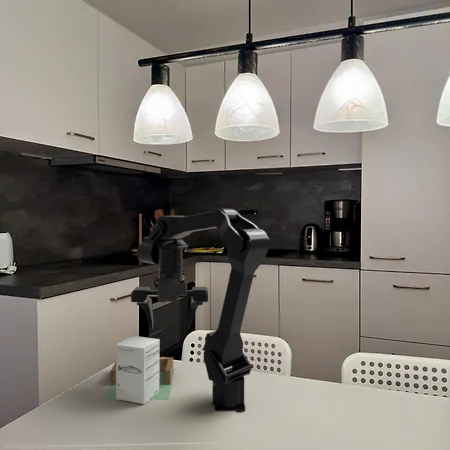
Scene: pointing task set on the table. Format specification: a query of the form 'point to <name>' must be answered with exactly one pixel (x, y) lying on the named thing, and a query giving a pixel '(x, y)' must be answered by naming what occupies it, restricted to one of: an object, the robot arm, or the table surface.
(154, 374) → the supplement box
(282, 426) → the table surface
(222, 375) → the robot arm
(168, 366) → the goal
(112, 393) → the pitch mat
